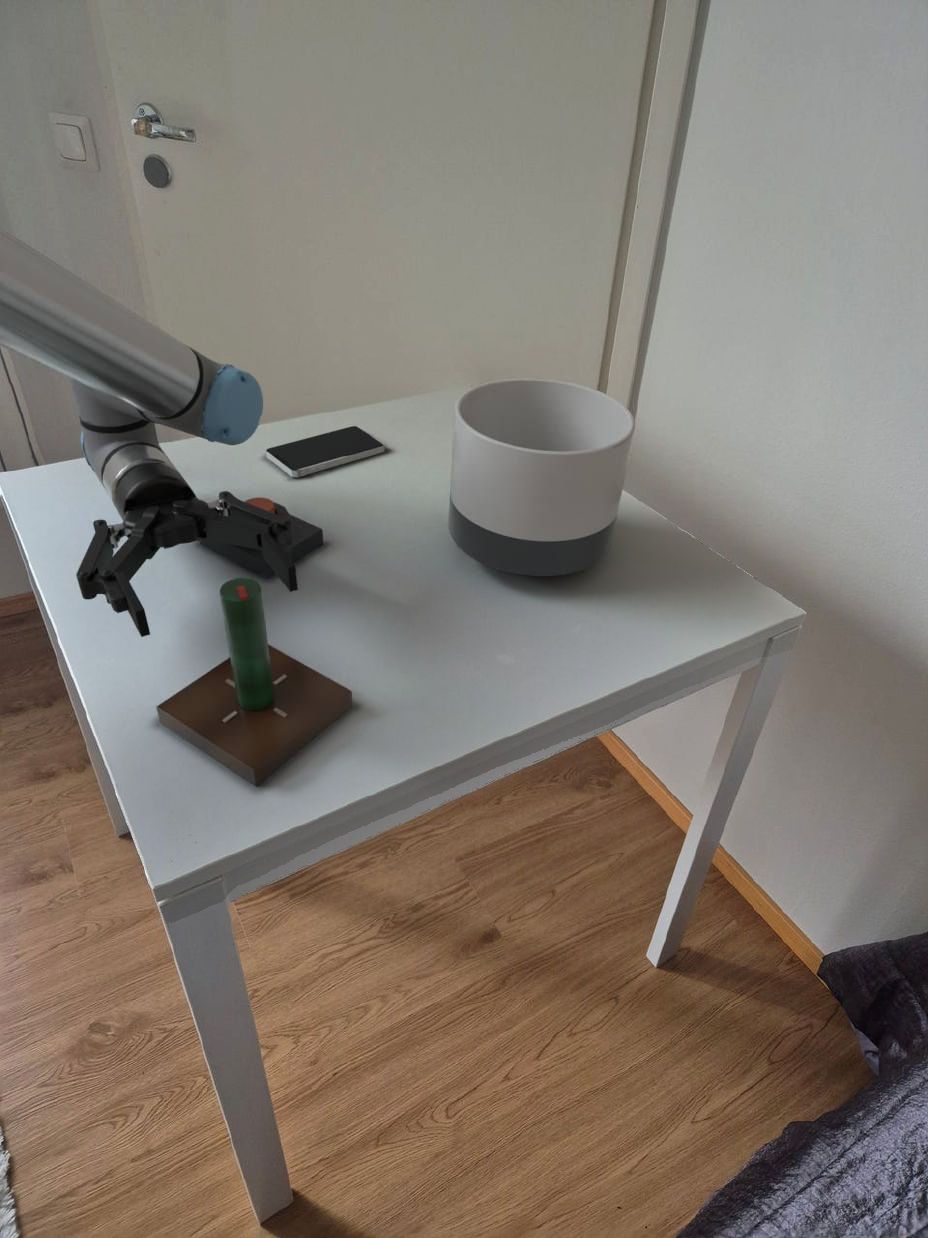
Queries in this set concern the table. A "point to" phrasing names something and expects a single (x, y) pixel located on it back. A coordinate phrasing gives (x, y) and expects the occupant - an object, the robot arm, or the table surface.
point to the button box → (303, 544)
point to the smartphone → (324, 451)
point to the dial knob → (247, 642)
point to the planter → (537, 474)
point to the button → (262, 503)
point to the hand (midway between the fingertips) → (221, 600)
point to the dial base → (255, 716)
